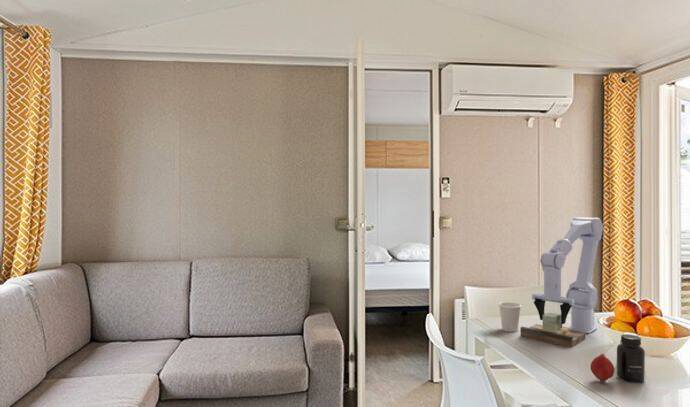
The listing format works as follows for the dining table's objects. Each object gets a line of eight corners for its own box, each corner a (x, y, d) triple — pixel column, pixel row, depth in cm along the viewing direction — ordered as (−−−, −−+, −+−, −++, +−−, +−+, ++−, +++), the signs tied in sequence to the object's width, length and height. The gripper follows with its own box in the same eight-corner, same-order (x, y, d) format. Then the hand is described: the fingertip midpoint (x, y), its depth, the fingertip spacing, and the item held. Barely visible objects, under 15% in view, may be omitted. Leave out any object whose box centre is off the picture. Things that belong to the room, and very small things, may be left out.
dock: (536, 329, 181) (536, 320, 181) (585, 338, 168) (585, 329, 168) (520, 336, 171) (520, 327, 171) (571, 347, 159) (571, 337, 159)
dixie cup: (498, 331, 178) (497, 305, 178) (499, 326, 186) (499, 301, 186) (521, 333, 175) (520, 307, 175) (521, 328, 183) (521, 302, 183)
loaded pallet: (545, 327, 176) (545, 310, 176) (569, 331, 170) (569, 314, 170) (535, 332, 170) (535, 314, 170) (560, 337, 164) (560, 318, 163)
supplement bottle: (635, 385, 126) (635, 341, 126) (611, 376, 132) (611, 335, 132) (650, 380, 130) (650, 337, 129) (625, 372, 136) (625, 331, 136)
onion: (586, 377, 132) (586, 350, 132) (605, 377, 132) (605, 349, 132) (599, 386, 126) (598, 356, 126) (618, 385, 126) (618, 356, 126)
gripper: (528, 283, 172) (528, 319, 172) (569, 288, 162) (569, 327, 162) (536, 281, 177) (536, 316, 177) (576, 286, 167) (576, 323, 167)
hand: (552, 321), depth 170 cm, fingers open, 7 cm apart
